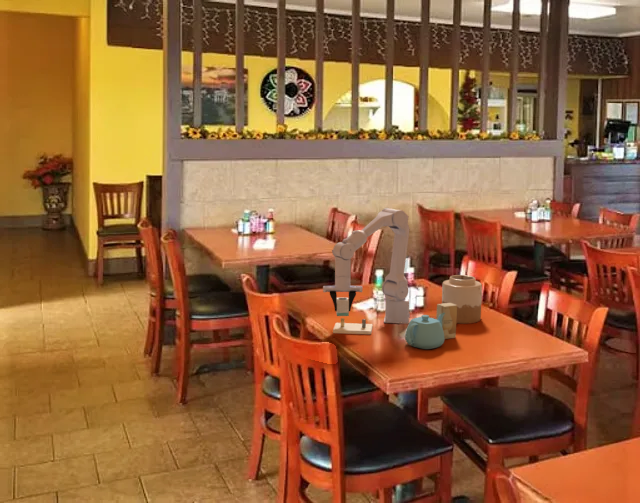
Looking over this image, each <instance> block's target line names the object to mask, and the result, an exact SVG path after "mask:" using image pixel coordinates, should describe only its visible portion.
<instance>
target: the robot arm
mask: <svg viewBox="0 0 640 503" xmlns="http://www.w3.org/2000/svg"><path fill="white" fill-rule="evenodd" d="M382 227H388V228H390V230H392V232H393V233H394V236H393V245H392V252H391V261H390V268H389V273H387V275H386V276H385V277H384V282H383V283H382V285H381V291H382V293H383V295H384V298H385V308H384V309H385V310H384V311H385V314H384V319H383V323H386V324H405V325H406V324H408V325H409V323H410V321H409V320H410V316H411V314H410V299H408V298H407V297H408V295H409V288H408V283H409V281H408V279H407V278H406V276H405V268H406V261H407V260H406V259H407V251H408V246H409V237H410V225H409V215H408V214H407V213H406V212H405V211H404V210H403V209H394V208H391V207H385V208H383V209H382V210H381V211H378V213H377V215H376V216H375V217H374V218H373V219H372V220H371V221H370V222H369V223H368V224H366V225H365V226H364V227H363V228H362V229H361V230H360V229H357V230H353V231H352V232H351V234H350V235H349V236H348V237H346V238H343V239H342V241H340V242H337V243H336V244H335V245H334V246H333V249H332V250H331V253H332V255H333V257H334V271H335V272H334V284H333V285H323V286H322V292H323V293H329V295H330V297H331V300H332V303H333V306H334V312H336V311H337V304H336V300H337V298H338V294H337V293H339V292H340V293H341V292H342V293H348V299H349V312H351V309H352V304H353V302H354V300H355V298H356V296H357V293H363V286H362V285H351V280H352V279H351V278H352V277H351V269H352V268H351V267H352V266H351V265H352V264H351V263H352V262H351V261H352V258H353V257H354V255H355V252H356V251H357V250H358V249H360V248H361V247H362V246H363V245H365V243H367V239H368V238H369V237H370V236H371V235H372V234H374V233H375V232H377V231H378V230H380V229H381V228H382Z"/></svg>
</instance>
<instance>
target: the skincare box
mask: <svg viewBox="0 0 640 503" xmlns="http://www.w3.org/2000/svg"><path fill="white" fill-rule="evenodd" d="M441 313H445V314H444V316H443V319H442V328H443V332H444V338H445V340H447V339H455V338H456V334H457V333H456V332H457V323H456V318H457V305H455V304H452V303H443V304H442V303H437V304H436V316H435V319H436V320H438V317H439V315H440V314H441Z"/></svg>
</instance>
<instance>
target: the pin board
mask: <svg viewBox="0 0 640 503" xmlns="http://www.w3.org/2000/svg"><path fill="white" fill-rule="evenodd" d="M366 320H367V319H366V318H362V319H361V323H356V322H355V323H352V322H345V318H340V322H335V324H334V326H333V329H332V333H333V334H345V335H346V334H347V335H348V334H349V335H351V334H352V335H372V333H373V327H374V326H373V325H374V324H373V323H367V321H366Z"/></svg>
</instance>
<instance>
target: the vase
mask: <svg viewBox="0 0 640 503" xmlns="http://www.w3.org/2000/svg"><path fill="white" fill-rule="evenodd" d="M441 286H442V287H441V304H443V303H452V304H455V305H457V318H456V324H464V325H465V324H466V325H467V324H475V323H478V322H480V321H481V318H482V296H483V295H482V294H483V292H482V291H483V284H482V283H481V282H480V281H478V280H476V277H474V276H472V275H465V274H455V275H454V274H453V275H450V277H449V279H446V280H444V281H443V282H442V285H441Z"/></svg>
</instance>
